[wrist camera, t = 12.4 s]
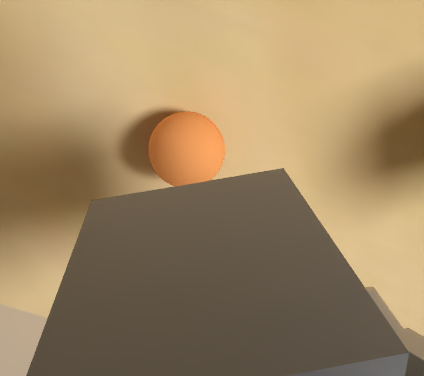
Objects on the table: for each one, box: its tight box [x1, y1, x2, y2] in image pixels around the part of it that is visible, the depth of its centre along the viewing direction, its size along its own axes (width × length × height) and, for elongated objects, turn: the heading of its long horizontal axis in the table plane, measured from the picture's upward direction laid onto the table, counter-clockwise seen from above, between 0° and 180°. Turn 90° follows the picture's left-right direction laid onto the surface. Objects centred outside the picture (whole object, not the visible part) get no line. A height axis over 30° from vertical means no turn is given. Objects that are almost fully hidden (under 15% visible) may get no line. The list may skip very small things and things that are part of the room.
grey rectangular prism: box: [27, 168, 409, 376], centre depth 11 cm, size 7×7×8 cm
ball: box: [149, 112, 225, 186], centre depth 24 cm, size 5×5×5 cm
